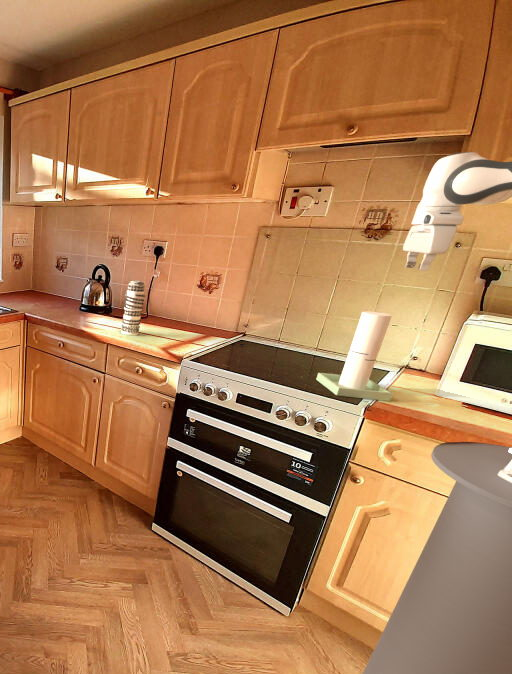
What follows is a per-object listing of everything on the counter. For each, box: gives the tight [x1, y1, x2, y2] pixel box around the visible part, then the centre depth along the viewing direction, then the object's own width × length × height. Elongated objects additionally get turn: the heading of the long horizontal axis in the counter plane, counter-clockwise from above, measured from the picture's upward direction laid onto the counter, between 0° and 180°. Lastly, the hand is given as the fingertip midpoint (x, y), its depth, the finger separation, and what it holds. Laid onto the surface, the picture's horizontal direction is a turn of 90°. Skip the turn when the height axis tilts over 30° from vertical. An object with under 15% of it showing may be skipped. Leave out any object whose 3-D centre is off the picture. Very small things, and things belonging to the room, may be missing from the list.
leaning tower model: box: [120, 279, 146, 336], centre depth 203 cm, size 9×9×25 cm
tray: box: [315, 372, 394, 402], centre depth 140 cm, size 16×15×3 cm
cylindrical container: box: [338, 310, 393, 390], centre depth 136 cm, size 7×7×25 cm
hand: (415, 269), depth 123 cm, fingers open, 8 cm apart
